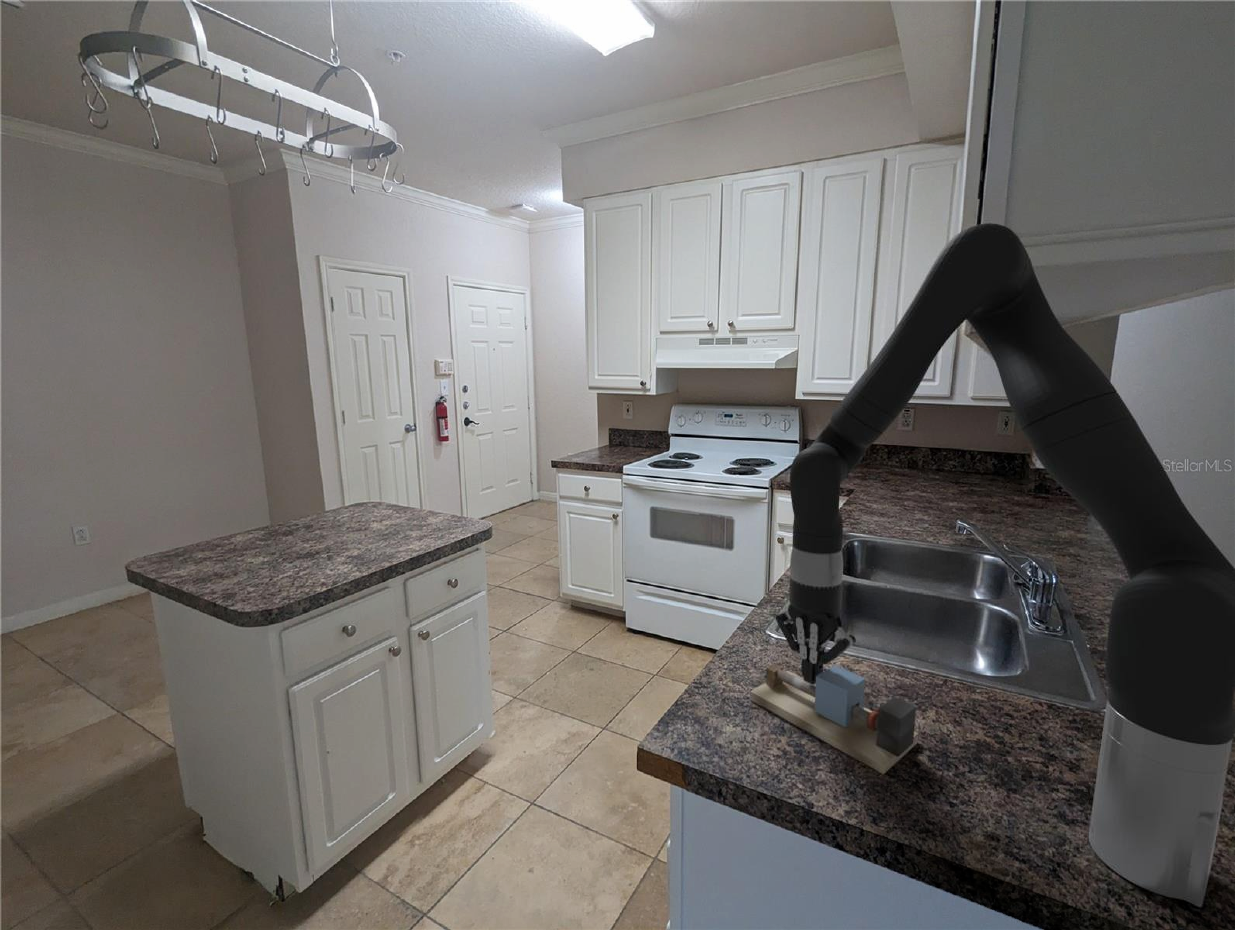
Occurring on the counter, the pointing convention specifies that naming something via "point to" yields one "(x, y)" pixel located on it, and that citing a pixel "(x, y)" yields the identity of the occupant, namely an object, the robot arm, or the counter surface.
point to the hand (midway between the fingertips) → (811, 681)
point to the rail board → (864, 739)
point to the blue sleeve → (838, 694)
